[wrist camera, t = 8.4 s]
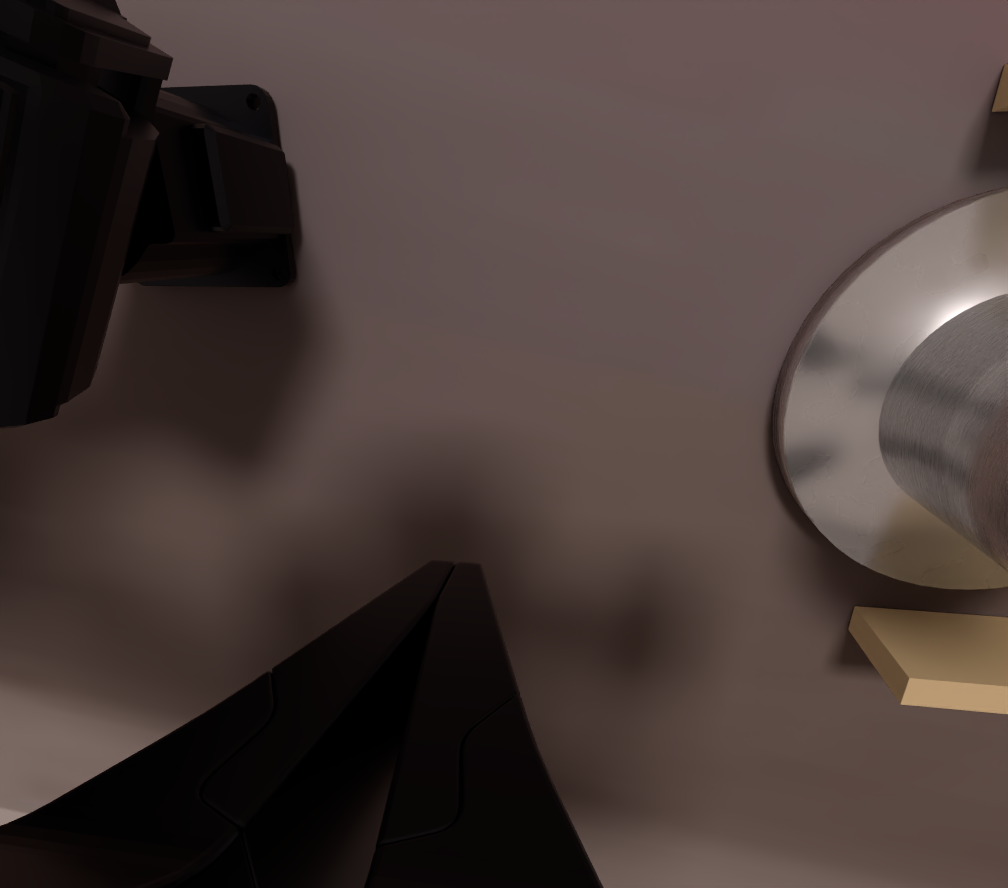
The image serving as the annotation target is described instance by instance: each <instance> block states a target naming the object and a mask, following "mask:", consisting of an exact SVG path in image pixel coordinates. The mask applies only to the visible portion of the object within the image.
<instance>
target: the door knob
mask: <svg viewBox="0 0 1008 888" xmlns="http://www.w3.org/2000/svg"><path fill="white" fill-rule="evenodd" d="M772 432H773V443H774V448H775V454H776V459H777V462H778V465H779V468H780V471H781V474H782V477H783V480H784V482H785V483H786V485H787V487H788V489H789V491H790V493H791V495H792V497H793V498H794V500H795V501H796V502H797V504H798V505H799V506H800V508H801V509H802V510H803V512H804V513H805V514H806V515H807V517H808V518H809V519H810V520H811V521H812V522H813V524H814V525H815V526H816V527H817V528H818V530H819V531H820V532H821V533H822V534H823V535H824V536H825V537H826V538H827V539H828V540H829V541H830V542H831V543H832V544H833V545H834V546H835V547H837V548H838V549H839V550H841V551H842V552H843V553H845V554H846V555H848V556H849V557H850V558H852V559H853V560H855V561H856V562H858V563H860V564H862V565H864V566H866V567H868V568H870V569H871V570H873V571H876V572H878V573H881V574H883V575H886V576H889V577H891V578H894V579H897V580H901V581H905V582H909V583H913V584H917V585H921V586H928V587H935V588H943V589H965V590H977V589H991V588H1003V587H1008V188H1002V189H997V190H991V191H987V192H984V193H981V194H977V195H974V196H971V197H968V198H964V199H961V200H958V201H955V202H953V203H950V204H948V205H946V206H943V207H941V208H939V209H936V210H934V211H932V212H929V213H927V214H925V215H923V216H921V217H919V218H918V219H916V220H914V221H912V222H910V223H909V224H907V225H905V226H903V227H902V228H900V229H898V230H896V231H895V232H893V233H892V234H890V235H889V236H888V237H886V238H885V239H883V240H882V241H881V242H879V243H878V244H876V245H875V246H873V247H872V248H871V249H869V250H868V251H867V252H866V253H864V254H863V255H862V256H861V257H860V258H859V259H858V260H857V261H855V262H854V263H853V264H852V265H851V266H850V267H849V268H847V269H846V270H845V271H844V272H843V273H842V274H841V275H840V276H839V278H838V279H837V280H836V281H835V282H834V283H833V284H832V285H831V286H830V287H829V288H828V290H827V291H826V292H825V293H824V294H823V295H822V297H821V298H820V299H819V301H818V302H817V303H816V305H815V306H814V307H813V309H812V310H811V312H810V313H809V314H808V316H807V317H806V319H805V320H804V322H803V324H802V326H801V327H800V329H799V331H798V333H797V334H796V336H795V338H794V340H793V341H792V344H791V346H790V348H789V351H788V353H787V356H786V358H785V360H784V363H783V365H782V368H781V372H780V375H779V379H778V383H777V386H776V390H775V397H774V404H773V412H772Z"/></svg>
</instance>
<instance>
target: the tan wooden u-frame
mask: <svg viewBox="0 0 1008 888" xmlns="http://www.w3.org/2000/svg"><path fill="white" fill-rule="evenodd" d="M1001 111H1008V63H1007V64H1005V65H1004V69H1003V72H1002V76H1001V80H1000V83H999V87H998V90H997V94H996V98H995V101H994V105H993V108H992V112H1001ZM848 630H849V631H850V633H851V634H852V636H853V637H854V639H855V640H856V641H857V643H858V644H859V646H860V647H861V649H862V650H863V651H864V653H865V654H866V656H867V657H868V658H869V660H870V661H871V663H872V664H873V666H874V667H875V668H876V670H877V671H878V673H879V674H880V676H881V677H882V678H883V680H884V681H885V683H886V684H887V686H888V687H889V688H890V690H891V691H892V693H893V694H894V696H895V697H896V698H897V700H898V701H899V703H900V704H904V705H914V706H925V707H936V708H947V709H958V710H969V711H980V712H991V713H1001V714H1008V617H996V616H982V615H968V614H955V613H941V612H927V611H913V610H900V609H886V608H872V607H859V606H854V610H853V614H852V617H851V621H850V624H849V628H848Z"/></svg>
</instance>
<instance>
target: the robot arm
mask: <svg viewBox="0 0 1008 888" xmlns="http://www.w3.org/2000/svg"><path fill="white" fill-rule="evenodd" d="M150 40H151V37H150V36H149V35H147V34H146V33H144V32H143V31H141V30H140V29H138V28H137V27H135V26H134V25H132V24H131V23H129V22H127V19H126V18H125V17H123V16H122V15H121V13H120V11H119V8H118V6H117V3H116V1H115V0H0V429H3V428H13V427H19V426H23V425H27V424H30V423H34V422H38V421H42V420H46V419H49V418H53V417H55V416H57V415H58V412H59V408H60V405H61V404H63V403H66V402H68V401H69V400H71V399H72V398H74V397H75V396H77V395H78V394H80V393H81V392H83V391H84V390H86V389H87V388H88V387H90V385H91V382H92V379H93V377H94V374H95V371H96V369H97V365H98V361H99V357H100V354H101V350H102V346H103V342H104V339H105V335H106V331H107V327H108V324H109V320H110V316H111V312H112V309H113V305H114V301H115V298H116V294H117V290H118V286H119V284H124V283H134V282H138V283H140V284H141V285H145V286H227V287H283V286H288V285H291V284H292V283H293V282H294V280H295V278H296V270H295V263H294V255H293V248H292V240H291V231H292V229H293V228H294V223H293V215H292V207H291V199H290V191H289V184H288V176H287V168H286V160H285V154H284V152H283V151H282V150H281V149H280V148H279V141H278V133H277V126H276V118H275V110H274V104H273V100H272V97H271V96H270V94H269V93H268V92H267V91H265V90H264V89H263V88H260V87H258V86H256V85H251V84H250V85H223V86H196V87H169V88H161V84H162V81H163V80H168V76H169V72H170V68H171V65H172V61H173V58H172V57H171V56H169V55H168V54H166V53H164V52H163V51H161V50H160V49H158V48H156V47H155V46H153V45H152V44H150ZM257 96H258V97H259V98H260V101H261V105H260V108H259V109H258V110H255V109H254V107H253V100H254V98H255V97H257ZM278 267H281V268H282V269H283V271H284V278H283V279H281V278H280V277H279V276H278V274H277V268H278ZM0 888H603V886H602V884H601V882H600V880H599V878H598V876H597V874H596V872H595V870H594V867H593V865H592V863H591V861H590V859H589V857H588V855H587V853H586V851H585V849H584V847H583V845H582V842H581V840H580V838H579V836H578V834H577V832H576V830H575V828H574V826H573V824H572V822H571V820H570V817H569V815H568V813H567V811H566V809H565V807H564V805H563V803H562V801H561V799H560V797H559V795H558V793H557V790H556V788H555V786H554V784H553V782H552V780H551V777H550V775H549V773H548V770H547V768H546V766H545V764H544V761H543V759H542V757H541V754H540V752H539V750H538V747H537V744H536V741H535V738H534V736H533V733H532V730H531V727H530V724H529V721H528V718H527V715H526V712H525V708H524V705H523V702H522V699H521V697H520V693H519V689H518V686H517V683H516V679H515V676H514V672H513V669H512V666H511V662H510V659H509V656H508V652H507V649H506V646H505V642H504V639H503V636H502V632H501V629H500V625H499V622H498V619H497V615H496V612H495V609H494V605H493V602H492V599H491V595H490V592H489V589H488V585H487V582H486V578H485V575H484V572H483V568H482V566H481V565H480V564H478V563H465V562H459V563H457V564H455V563H454V562H451V561H437V560H432V561H430V562H428V563H427V564H425V565H424V566H422V567H421V568H419V569H418V570H416V571H415V572H413V573H412V574H410V575H409V576H408V577H406V578H405V579H403V580H402V581H400V582H399V583H397V584H396V585H394V586H393V587H391V588H390V589H388V590H387V591H385V592H384V593H382V594H381V595H380V596H378V597H377V598H375V599H374V600H372V601H371V602H369V603H368V604H366V605H365V606H363V607H362V608H360V609H359V610H357V611H356V612H354V613H353V614H351V615H350V616H349V617H347V618H346V619H344V620H343V621H341V622H340V623H338V624H337V625H335V626H334V627H332V628H331V629H329V630H328V631H326V632H325V633H323V634H322V635H321V636H319V637H318V638H316V639H315V640H313V641H312V642H310V643H309V644H307V645H306V646H304V647H303V648H301V649H300V650H298V651H297V652H295V653H294V654H292V655H291V656H290V657H288V658H287V659H285V660H284V661H282V662H281V663H279V664H278V665H276V666H275V667H273V668H272V673H271V672H270V671H267V672H266V673H264V674H263V675H261V676H260V677H258V678H257V679H255V680H254V681H252V682H251V683H249V684H248V685H246V686H245V687H243V688H242V689H240V690H239V691H237V692H236V693H234V694H233V695H231V696H230V697H228V698H226V699H225V700H223V701H222V702H220V703H219V704H217V705H216V706H214V707H213V708H211V709H210V710H208V711H206V712H205V713H203V714H201V715H200V716H198V717H196V718H195V719H193V720H191V721H190V722H188V723H186V724H185V725H183V726H181V727H180V728H178V729H176V730H175V731H173V732H171V733H170V734H168V735H166V736H164V737H163V738H161V739H159V740H158V741H156V742H154V743H152V744H151V745H149V746H147V747H145V748H144V749H142V750H140V751H138V752H137V753H135V754H133V755H132V756H130V757H128V758H126V759H125V760H123V761H121V762H119V763H118V764H116V765H114V766H112V767H111V768H109V769H107V770H106V771H104V772H102V773H100V774H99V775H97V776H95V777H93V778H92V779H90V780H88V781H86V782H85V783H83V784H81V785H80V786H78V787H76V788H74V789H73V790H71V791H69V792H67V793H66V794H64V795H62V796H60V797H59V798H57V799H55V800H54V801H52V802H50V803H48V804H46V805H44V806H42V807H41V808H39V809H37V810H35V811H33V812H31V813H29V814H27V815H25V816H23V817H21V818H18V819H16V820H14V821H12V822H9V823H7V824H4V825H1V826H0Z"/></svg>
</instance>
